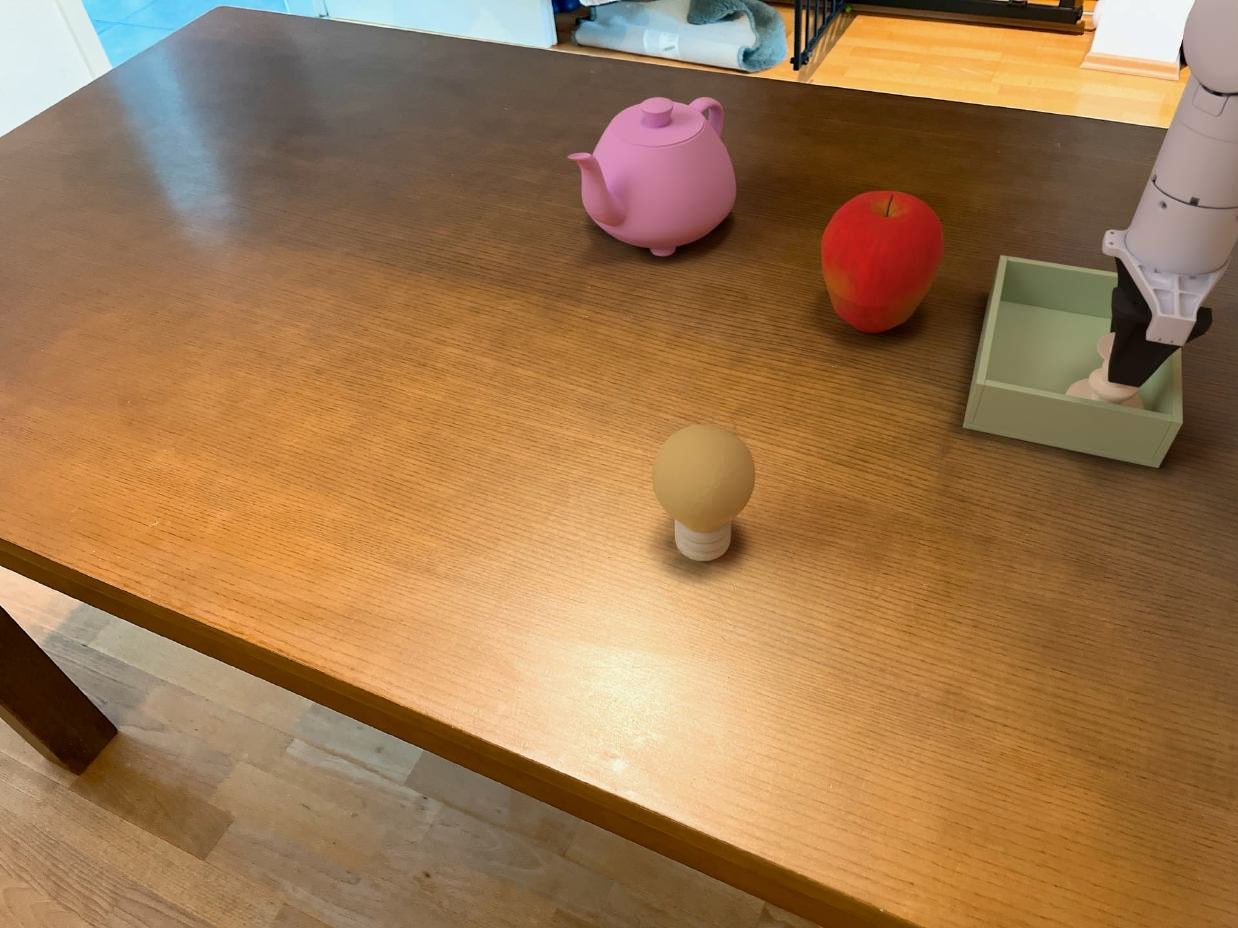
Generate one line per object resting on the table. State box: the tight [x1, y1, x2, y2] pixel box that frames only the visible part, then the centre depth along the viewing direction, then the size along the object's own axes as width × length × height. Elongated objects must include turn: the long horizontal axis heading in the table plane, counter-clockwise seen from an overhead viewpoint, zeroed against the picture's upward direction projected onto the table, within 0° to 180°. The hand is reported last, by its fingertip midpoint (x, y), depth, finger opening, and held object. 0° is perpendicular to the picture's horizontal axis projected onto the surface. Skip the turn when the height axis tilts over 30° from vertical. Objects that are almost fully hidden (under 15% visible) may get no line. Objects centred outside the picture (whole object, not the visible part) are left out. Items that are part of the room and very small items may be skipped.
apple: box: [820, 190, 946, 334], centre depth 73 cm, size 9×9×12 cm
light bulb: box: [651, 423, 756, 562], centre depth 59 cm, size 6×6×10 cm
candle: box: [1066, 332, 1144, 410], centre depth 63 cm, size 5×5×10 cm
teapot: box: [567, 96, 737, 257], centre depth 84 cm, size 20×14×12 cm
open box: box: [962, 254, 1184, 469], centre depth 70 cm, size 13×16×4 cm
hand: (1124, 360), depth 63 cm, fingers closed on candle, 4 cm apart
